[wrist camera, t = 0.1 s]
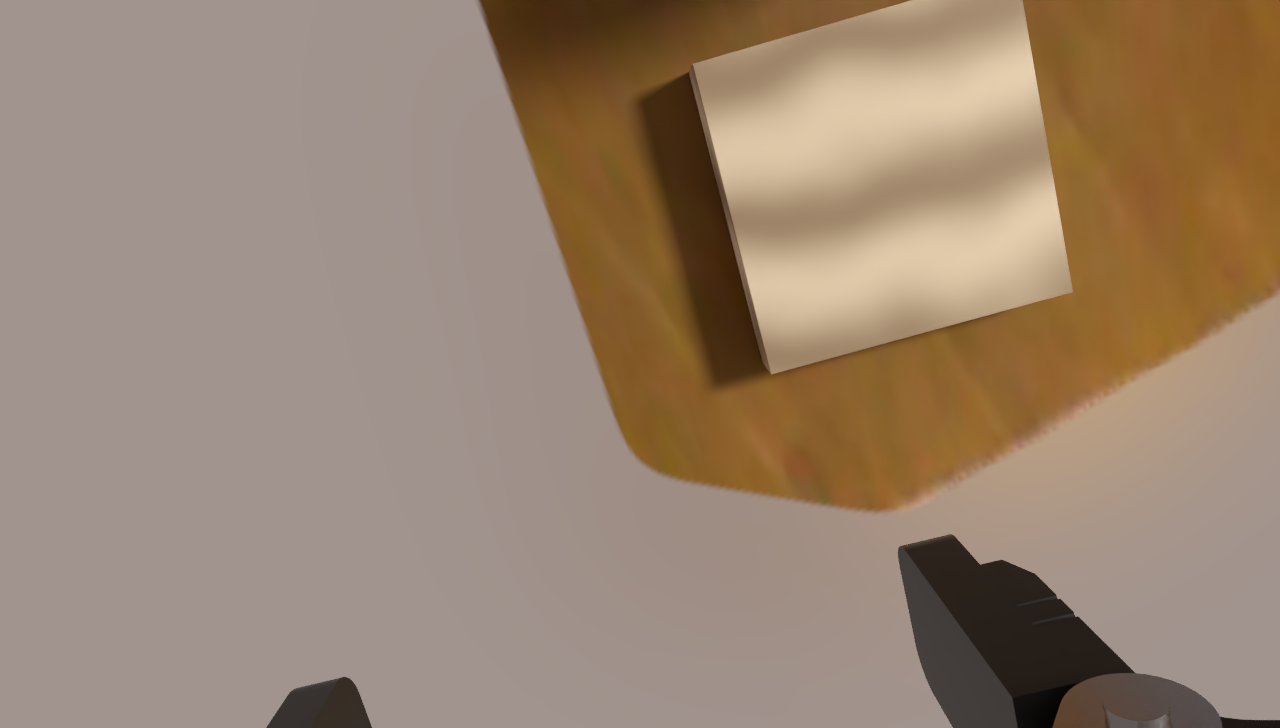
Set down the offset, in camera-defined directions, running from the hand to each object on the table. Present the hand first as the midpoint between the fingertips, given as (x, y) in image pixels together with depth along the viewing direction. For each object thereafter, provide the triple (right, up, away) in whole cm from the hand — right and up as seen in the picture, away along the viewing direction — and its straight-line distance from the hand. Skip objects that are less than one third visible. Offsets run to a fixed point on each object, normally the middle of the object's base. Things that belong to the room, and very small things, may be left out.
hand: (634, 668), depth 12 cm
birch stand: (+11, +13, +27) cm, 32 cm away
